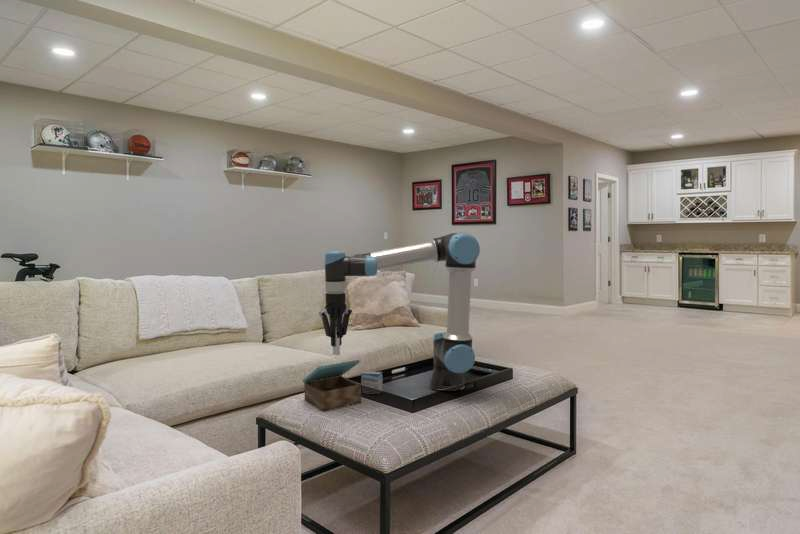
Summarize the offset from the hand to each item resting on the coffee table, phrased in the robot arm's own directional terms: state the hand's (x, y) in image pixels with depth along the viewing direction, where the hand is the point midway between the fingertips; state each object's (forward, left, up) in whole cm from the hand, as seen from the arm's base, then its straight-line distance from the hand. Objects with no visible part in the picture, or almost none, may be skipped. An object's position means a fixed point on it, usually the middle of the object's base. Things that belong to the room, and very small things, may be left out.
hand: (336, 354), depth 198 cm
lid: (0, -5, -8) cm, 9 cm away
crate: (0, -4, -19) cm, 20 cm away
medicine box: (-18, -4, -20) cm, 27 cm away
